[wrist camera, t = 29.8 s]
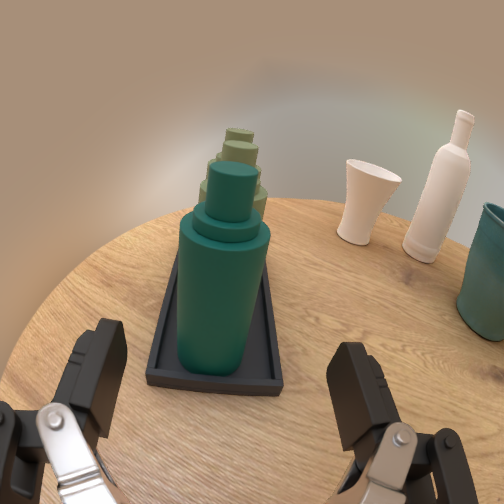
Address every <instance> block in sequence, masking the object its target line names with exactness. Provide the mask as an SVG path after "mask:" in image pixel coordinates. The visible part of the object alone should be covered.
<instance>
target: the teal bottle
mask: <svg viewBox="0 0 504 504" xmlns="http://www.w3.org/2000/svg"><path fill="white" fill-rule="evenodd" d="M258 174H259V172H258V170H257V169H256V168H254V167H252V166H250V165H247V164H244V163H239V162H233V161H218V162H213V163H211V164H210V166H209V173H208V182H207V190H206V199H205V201H203V202H201V203H199V204H197V205H196V206H195V207H194V210H193V211H192V212H190V213H188V214H186V215H185V216H184V217H183V218H182V220H181V222H180V231H179V252H178V284H177V354H178V358H179V361H180V362H181V364H182V365H183V367H184V368H185V369H186V370H188V371H189V372H190V373H192V374H201V375H211V376H222V377H226V376H228V375H230V374H232V373H233V372H234V371H236V370H237V368H238V367H239V366H240V364H241V361H242V358H243V353H244V349H245V345H246V341H247V337H248V332H249V328H250V324H251V320H252V315H253V311H254V307H255V302H256V298H257V294H258V289H259V285H260V281H261V276H262V272H263V268H264V263H265V259H266V254H267V250H268V245H269V241H270V236H271V234H270V230H269V228H268V226H267V225H266V224H265V223H264V222H263V221H262V220H261V215H260V214H259V212H258V211H257V210H256V209H254V208H253V201H254V196H255V190H256V185H257V180H258Z"/></svg>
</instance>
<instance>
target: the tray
mask: <svg viewBox="0 0 504 504" xmlns="http://www.w3.org/2000/svg"><path fill="white" fill-rule="evenodd" d="M178 252H179V248H178ZM178 252H177V255H176V258H175V262H174V265H173V268H172V272H171V275H170V279H169V282H168V286H167V289H166V293H165V297H164V300H163V304H162V308H161V311H160V315H159V319H158V323H157V327H156V331H155V335H154V339H153V343H152V347H151V351H150V355H149V360H148V364H147V368H146V373H145V374H146V380H147V385H152V386H158V387H165V388H172V389H180V390H188V391H197V392H207V393H219V394H232V395H250V396H279V395H280V393H281V391H282V388H283V386H284V385H283V378H282V371H281V364H280V356H279V349H278V342H277V335H276V328H275V321H274V314H273V307H272V301H271V294H270V287H269V280H268V273H267V267H266V260H265V263H264V268H263V272H262V276H261V281H260V285H259V289H258V294H257V298H256V302H255V307H254V311H253V315H252V320H251V324H250V328H249V332H248V337H247V341H246V345H245V349H244V353H243V358H242V361H241V364H240V366H239V367H238V368H237V370H236V371H234V372H233V373H232V374H230V375H228V376H226V377H222V376H211V375H201V374H192V373H190V372H189V371H188V370H186V369H185V368H184V367H183V365H182V364H181V362H180V361H179V358H178V354H177V284H178Z"/></svg>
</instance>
